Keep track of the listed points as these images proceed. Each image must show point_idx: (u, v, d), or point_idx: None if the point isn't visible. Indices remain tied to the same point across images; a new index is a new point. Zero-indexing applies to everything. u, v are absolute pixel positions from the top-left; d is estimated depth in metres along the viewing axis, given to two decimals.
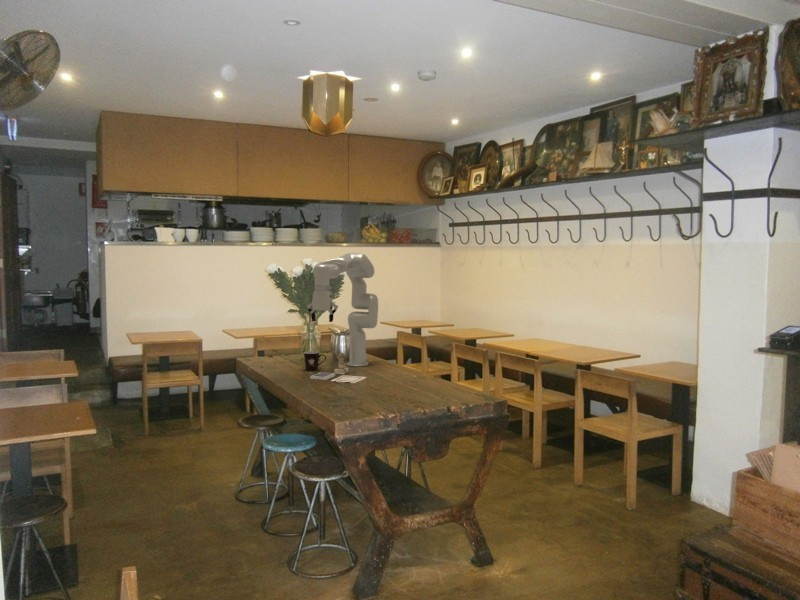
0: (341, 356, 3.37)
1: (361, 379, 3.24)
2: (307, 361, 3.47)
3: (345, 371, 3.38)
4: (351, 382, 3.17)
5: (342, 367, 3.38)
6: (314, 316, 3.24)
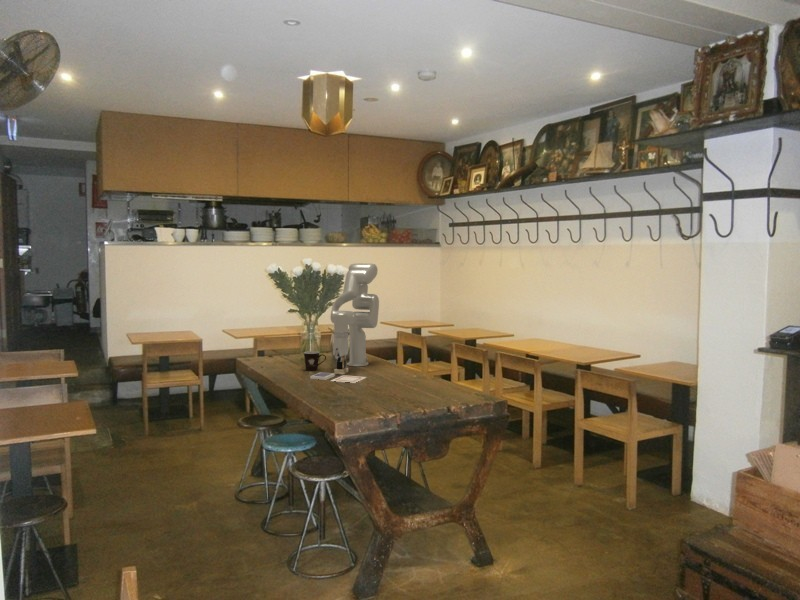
0: None
1: (361, 379, 3.24)
2: (307, 361, 3.47)
3: (345, 371, 3.38)
4: (351, 382, 3.17)
5: (342, 367, 3.38)
6: None
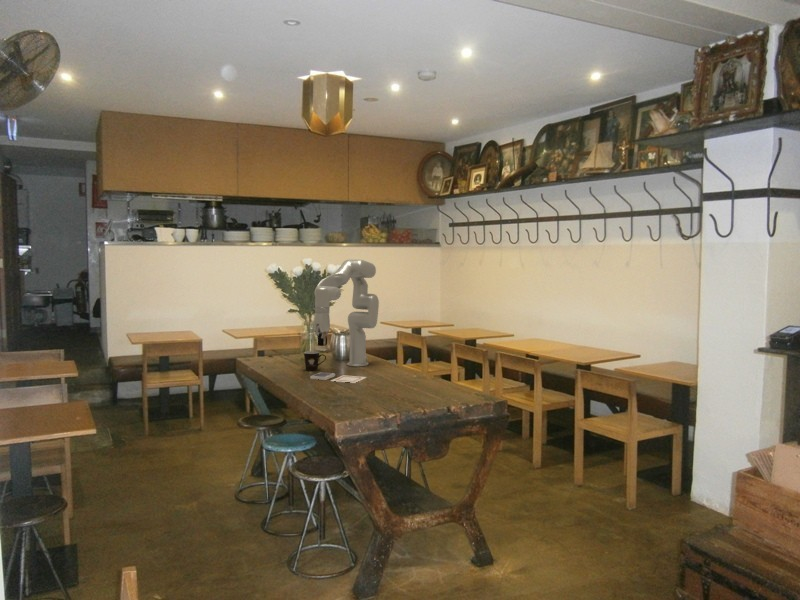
0: None
1: (361, 379, 3.24)
2: (307, 361, 3.47)
3: (326, 348, 3.28)
4: (351, 382, 3.17)
5: None
6: None
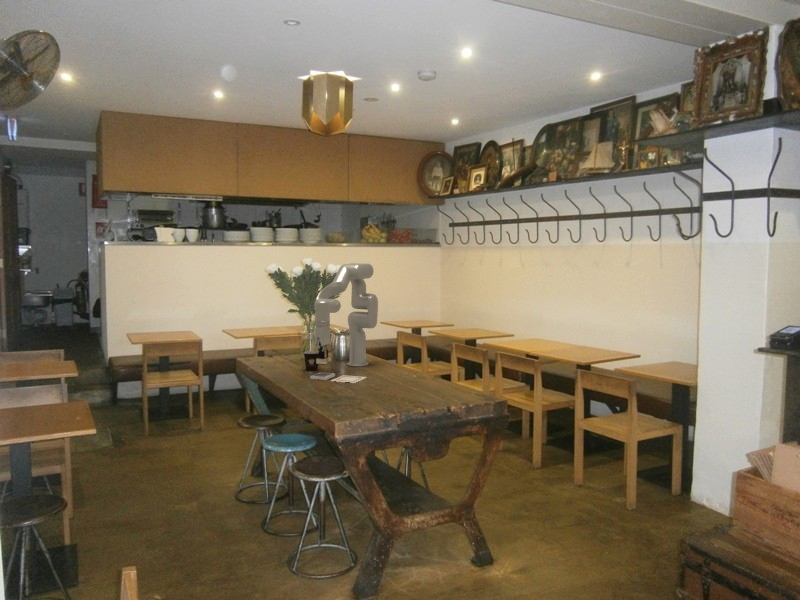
0: None
1: (361, 379, 3.24)
2: (307, 361, 3.47)
3: (327, 361, 3.29)
4: (351, 382, 3.17)
5: None
6: None
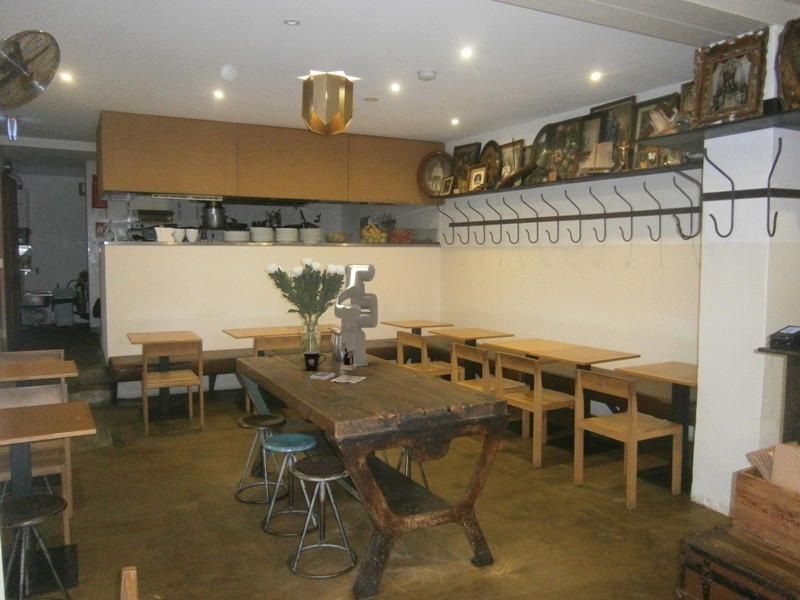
0: None
1: (361, 379, 3.24)
2: (307, 361, 3.47)
3: (353, 367, 3.23)
4: (351, 382, 3.17)
5: None
6: None
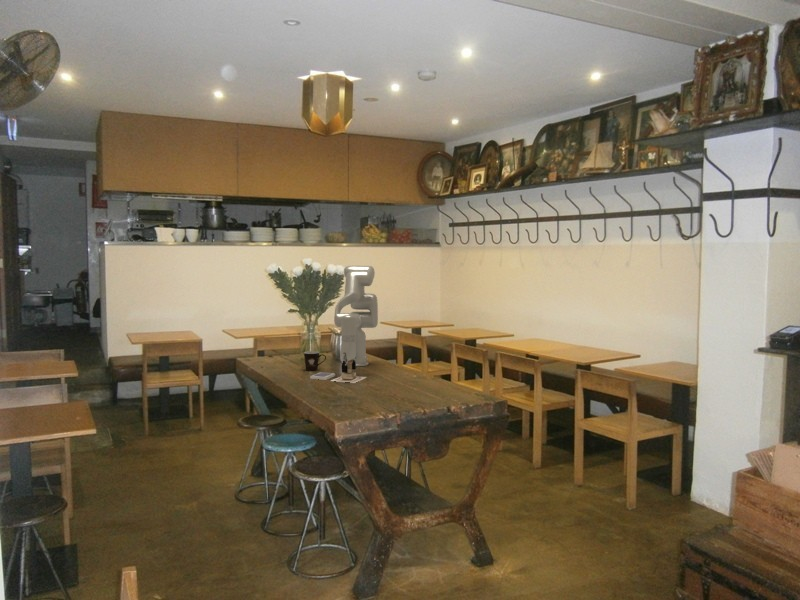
0: None
1: (361, 379, 3.24)
2: (307, 361, 3.47)
3: (353, 376, 3.24)
4: (351, 382, 3.17)
5: (350, 372, 3.24)
6: None
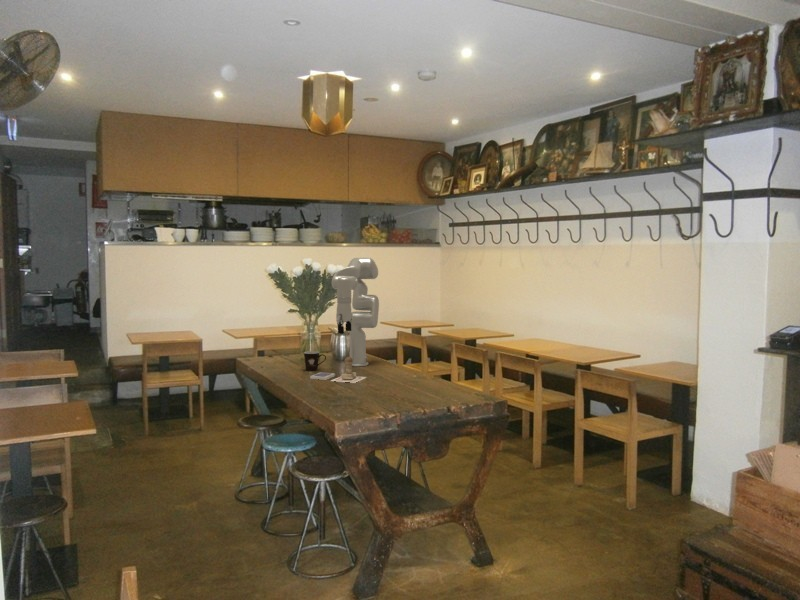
0: (349, 360, 3.23)
1: (361, 379, 3.24)
2: (307, 361, 3.47)
3: (353, 376, 3.24)
4: (351, 382, 3.17)
5: (350, 372, 3.24)
6: None
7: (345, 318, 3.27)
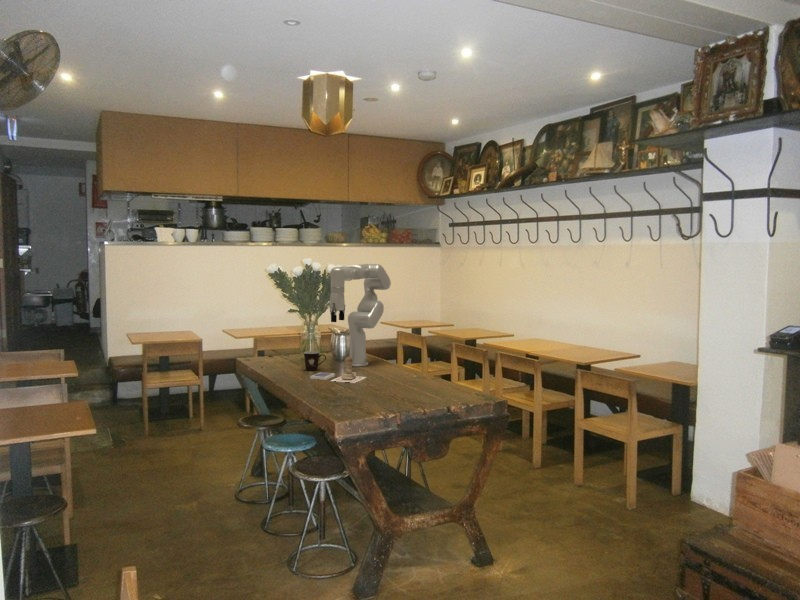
0: (349, 360, 3.23)
1: (361, 379, 3.24)
2: (307, 361, 3.47)
3: (353, 376, 3.24)
4: (351, 382, 3.17)
5: (350, 372, 3.24)
6: None
7: (338, 307, 3.40)
